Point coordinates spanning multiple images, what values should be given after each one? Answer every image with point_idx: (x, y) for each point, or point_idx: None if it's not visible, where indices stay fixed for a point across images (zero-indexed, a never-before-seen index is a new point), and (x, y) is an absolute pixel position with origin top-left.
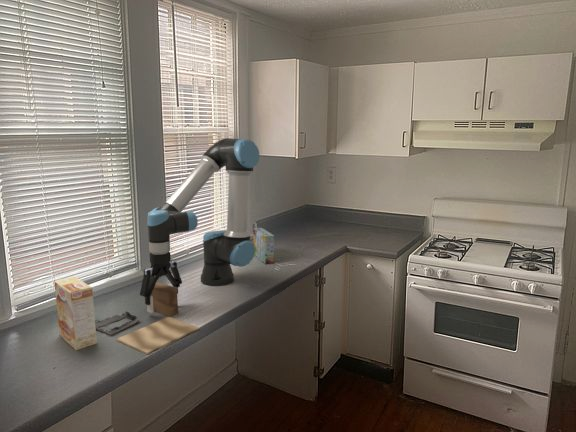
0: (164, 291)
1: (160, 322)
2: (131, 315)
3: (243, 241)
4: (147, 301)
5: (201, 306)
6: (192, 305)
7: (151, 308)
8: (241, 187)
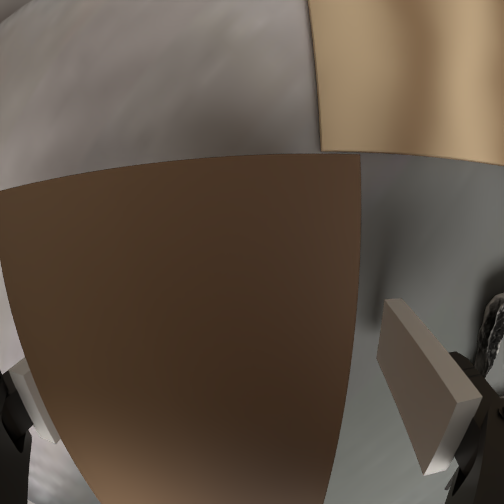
0: (350, 318)
1: (438, 119)
2: (488, 369)
3: None
4: (480, 377)
5: (30, 154)
6: None
7: (419, 320)
8: None
